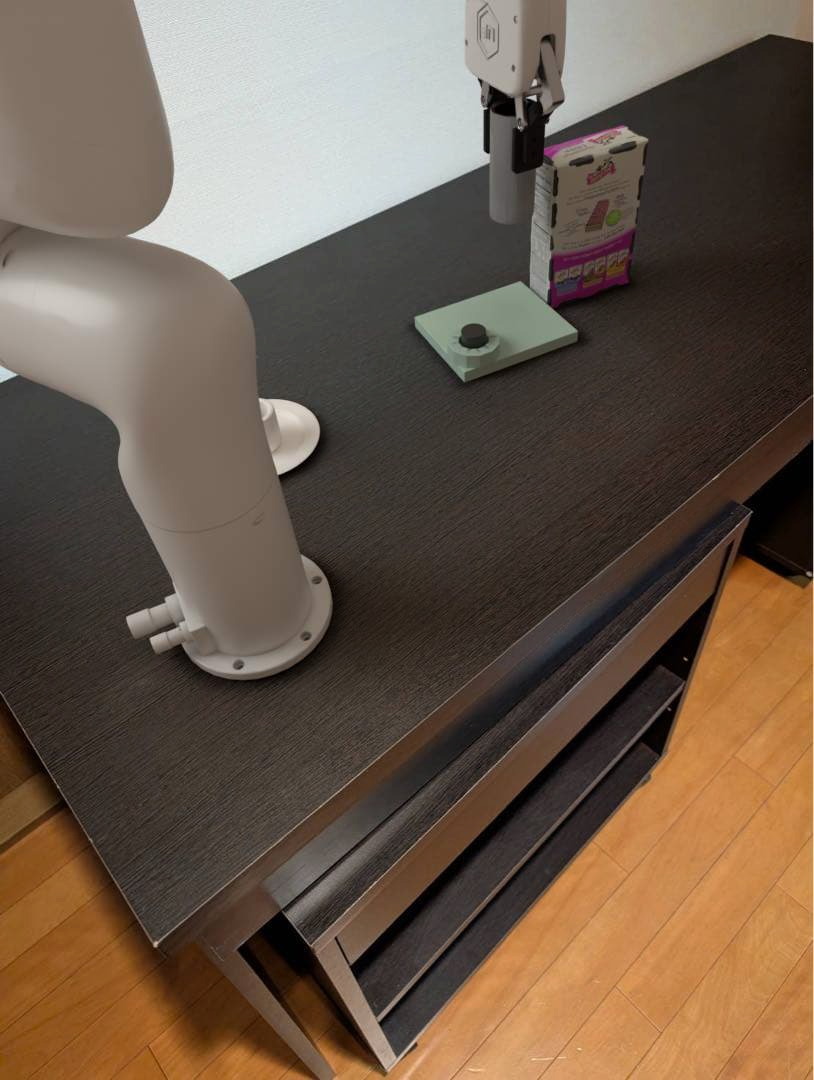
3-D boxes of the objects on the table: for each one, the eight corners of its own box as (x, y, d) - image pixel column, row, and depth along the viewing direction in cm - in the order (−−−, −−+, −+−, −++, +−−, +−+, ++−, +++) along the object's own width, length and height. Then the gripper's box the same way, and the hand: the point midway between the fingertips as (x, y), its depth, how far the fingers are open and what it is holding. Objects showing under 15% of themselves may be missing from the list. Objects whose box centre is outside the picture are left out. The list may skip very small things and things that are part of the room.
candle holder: (189, 428, 79) (176, 394, 76) (298, 391, 81) (290, 358, 78) (219, 502, 71) (206, 468, 68) (338, 459, 74) (331, 425, 71)
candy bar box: (605, 265, 93) (624, 122, 81) (629, 284, 90) (652, 138, 78) (525, 291, 91) (531, 148, 78) (547, 312, 88) (557, 166, 75)
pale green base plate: (463, 385, 80) (462, 361, 78) (412, 328, 88) (411, 304, 85) (578, 343, 83) (581, 319, 81) (520, 291, 91) (521, 268, 89)
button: (468, 352, 79) (468, 340, 78) (457, 340, 81) (456, 327, 80) (490, 345, 80) (490, 332, 79) (478, 332, 81) (478, 320, 80)
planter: (531, 225, 76) (537, 115, 69) (486, 224, 77) (487, 116, 70) (535, 204, 79) (541, 96, 72) (492, 203, 80) (493, 96, 72)
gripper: (429, -86, 65) (438, 139, 78) (535, -48, 54) (524, 204, 68) (506, -102, 66) (502, 122, 80) (623, -68, 56) (595, 181, 70)
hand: (512, 157), depth 74 cm, fingers closed on planter, 4 cm apart
